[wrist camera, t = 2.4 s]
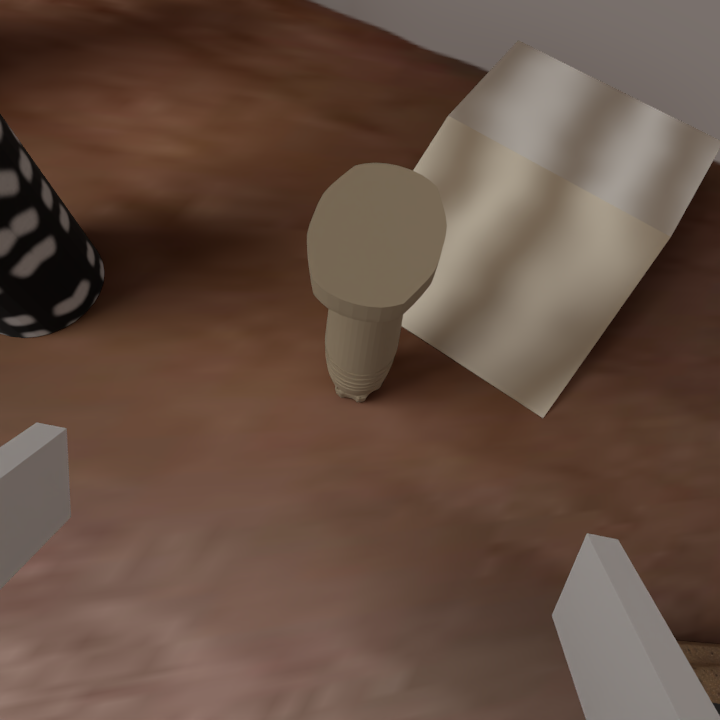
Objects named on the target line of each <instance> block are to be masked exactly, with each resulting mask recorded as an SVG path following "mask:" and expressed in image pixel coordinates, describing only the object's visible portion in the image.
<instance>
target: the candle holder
mask: <svg viewBox="0 0 720 720" xmlns="http://www.w3.org/2000/svg"><path fill="white" fill-rule="evenodd" d="M676 641H677V643H678V644H679V646H680V648H681V650H682V651H683V653H684V655H685V657H686V658H687V660H688V662H689V664H690V665H691V667H692V669H693V670H694V672H695V674H696V676H697V677H698V679H699V681H700V683H701V684H702V686H703V688H704V690H705V691H706V693H707V695H708V696H709V698H710V700H711V702H713V703H717V704H720V644H714V643H702V642H690V641H678V640H676Z"/></svg>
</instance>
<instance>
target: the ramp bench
mask: <svg viewBox="0 0 720 720" xmlns="http://www.w3.org/2000/svg"><path fill="white" fill-rule="evenodd" d="M719 149H720V140H717V139H716V138H714V137H711V136H710V135H708V134H706V133H704V132H702V131H699V130H698V129H696V128H694V127H692V126H690V125H688V124H685V123H683V122H682V121H680V120H677V119H675V118H673V117H671V116H669V115H667V114H665V113H663V112H661V111H659V110H657V109H655V108H653V107H651V106H649V105H647V104H645V103H643V102H641V101H639V100H637V99H635V98H633V97H631V96H629V95H627V94H625V93H623V92H621V91H619V90H617V89H615V88H613V87H611V86H609V85H607V84H605V83H603V82H601V81H599V80H597V79H595V78H593V77H591V76H589V75H587V74H585V73H583V72H581V71H579V70H577V69H575V68H573V67H571V66H569V65H567V64H565V63H563V62H561V61H559V60H557V59H555V58H553V57H551V56H548V55H546V54H545V53H543V52H541V51H538V50H536V49H534V48H533V47H530V46H528V45H526V44H524V43H522V42H520V41H517V42H516V43H515V44H514V46H513V47H512V48H511V49H510V50H509V51H508V52H507V53H506V54H505V55H504V56H503V57H502V59H500V61H499V62H498V63H497V64H496V65H495V66H494V67H493V68H492V69H491V70H490V71H489V72H488V73H487V75H486V76H485V77H484V78H483V79H482V80H481V81H480V82H479V83H478V84H477V85H476V86H475V87H474V89H473V90H472V91H471V92H470V93H469V94H468V95H467V96H466V97H465V98H464V99H463V100H462V101H461V103H460V104H459V105H458V106H457V107H456V108H455V109H454V110H453V111H452V112H451V113H450V114H449V115H448V117H447V118H446V120H445V122H444V123H443V125H442V126H441V128H440V129H439V131H438V133H437V134H436V136H435V137H434V139H433V140H432V142H431V143H430V145H429V147H428V148H427V150H426V151H425V153H424V154H423V156H422V158H421V159H420V161H419V162H418V164H417V165H416V167H415V168H414V170H413V171H415V172H417V173H419V174H421V175H423V176H424V177H426V178H427V179H428V180H430V181H431V182H432V183H433V184H434V185H436V186H437V188H438V191H439V194H440V198H441V201H442V204H443V208H444V211H445V215H446V222H447V229H446V237H445V241H444V245H443V248H442V252H441V256H440V260H439V263H438V266H437V269H436V272H435V275H434V278H433V280H432V283H431V285H430V286H429V287H428V288H427V290H426V291H425V292H424V293H423V295H422V296H421V297H420V298H419V299H418V300H417V301H416V302H415V304H414V305H413V306H412V307H410V308H409V309H408V310H407V311H406V312H405V313H404V314H403V319H402V325H401V326H402V327H404V328H406V329H407V330H409V331H410V332H412V333H413V334H415V335H416V336H418V337H419V338H421V339H422V340H424V341H425V342H427V343H429V344H430V345H432V346H433V347H435V348H436V349H438V350H439V351H441V352H442V353H444V354H445V355H447V356H448V357H450V358H452V359H453V360H455V361H456V362H458V363H459V364H461V365H462V366H464V367H465V368H467V369H468V370H470V371H471V372H473V373H475V374H476V375H478V376H479V377H481V378H482V379H484V380H485V381H487V382H488V383H490V384H491V385H493V386H494V387H496V388H498V389H499V390H501V391H502V392H504V393H505V394H507V395H508V396H510V397H511V398H513V399H514V400H516V401H517V402H519V403H521V404H522V405H524V406H525V407H527V408H528V409H530V410H531V411H533V412H534V413H536V414H537V415H539V416H540V417H542V418H544V416H545V415H546V413H547V412H548V410H549V409H550V408H551V406H552V405H553V403H554V402H555V401H556V399H557V398H558V396H559V395H560V393H561V392H562V391H563V389H564V388H565V386H566V385H567V384H568V382H569V381H570V379H571V378H572V376H573V375H574V374H575V372H576V371H577V369H578V368H579V366H580V365H581V364H582V362H583V361H584V359H585V358H586V357H587V355H588V354H589V352H590V351H591V349H592V348H593V347H594V345H595V344H596V342H597V341H598V340H599V338H600V337H601V335H602V334H603V332H604V331H605V330H606V328H607V327H608V325H609V324H610V323H611V321H612V320H613V318H614V317H615V315H616V314H617V313H618V311H619V310H620V308H621V307H622V305H623V304H624V303H625V301H626V300H627V298H628V297H629V296H630V294H631V293H632V291H633V290H634V288H635V287H636V286H637V284H638V283H639V281H640V280H641V279H642V277H643V276H644V274H645V273H646V271H647V270H648V269H649V267H650V266H651V264H652V263H653V262H654V260H655V259H656V257H657V256H658V254H659V253H660V252H661V250H662V249H663V247H664V246H665V244H666V243H667V242H668V240H669V239H670V237H671V236H672V234H673V232H674V230H675V228H676V227H677V225H678V223H679V221H680V219H681V218H682V216H683V214H684V212H685V210H686V209H687V207H688V205H689V203H690V201H691V200H692V198H693V196H694V194H695V192H696V191H697V189H698V187H699V185H700V183H701V182H702V180H703V178H704V176H705V174H706V173H707V171H708V169H709V167H710V165H711V164H712V162H713V160H714V158H715V156H716V154H717V153H718V151H719Z"/></svg>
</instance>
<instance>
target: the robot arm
mask: <svg viewBox="0 0 720 720" xmlns="http://www.w3.org/2000/svg"><path fill="white" fill-rule="evenodd" d="M70 517H71V510H70V489H69V468H68V447H67V428H62V427H57V426H52V425H47V424H42V423H35V424H34V425H33V426H31V427H30V428H28V429H27V430H25V431H24V432H22V433H21V434H19V435H18V436H16V437H15V438H13V439H12V440H10V441H9V442H7V443H6V444H4V445H3V446H1V447H0V589H1V588H2V587H3V586H4V585H5V584H6V583H7V582H8V581H9V580H10V579H11V578H12V577H13V576H14V575H15V574H16V573H17V572H18V571H19V570H20V569H21V568H22V567H23V566H24V565H25V564H26V563H27V562H28V560H29V559H30V558H31V557H32V556H33V555H34V554H35V553H36V552H37V551H38V550H39V549H40V548H41V547H42V546H43V545H44V544H45V543H46V542H47V541H48V540H49V539H50V538H51V537H52V536H53V535H54V534H55V533H56V532H57V531H58V530H59V529H60V528H61V527H62V526H63V525H64V524H65V522H66V521H67V520H68V519H69V518H70ZM552 618H553V621H554V624H555V627H556V630H557V633H558V636H559V639H560V642H561V645H562V648H563V651H564V654H565V657H566V660H567V663H568V667H569V670H570V673H571V676H572V679H573V682H574V685H575V688H576V691H577V694H578V697H579V700H580V703H581V706H582V709H583V712H584V715H585V718H586V720H720V704H717V703H713V702H711V700H710V698H709V696H708V695H707V693H706V691H705V690H704V688H703V686H702V684H701V683H700V681H699V679H698V677H697V676H696V674H695V672H694V670H693V669H692V667H691V665H690V664H689V662H688V660H687V658H686V657H685V655H684V653H683V651H682V650H681V648H680V646H679V644H678V643H677V641H676V639H675V637H674V636H673V634H672V632H671V631H670V629H669V627H668V625H667V624H666V622H665V620H664V618H663V617H662V615H661V613H660V611H659V610H658V608H657V606H656V605H655V603H654V601H653V599H652V598H651V596H650V594H649V592H648V591H647V589H646V587H645V585H644V584H643V582H642V580H641V578H640V577H639V575H638V573H637V572H636V570H635V568H634V566H633V565H632V563H631V561H630V559H629V558H628V556H627V554H626V552H625V551H624V549H623V547H622V546H621V544H620V542H619V540H618V539H613V538H608V537H603V536H598V535H593V534H588V533H587V534H586V537H585V539H584V541H583V544H582V546H581V548H580V551H579V553H578V555H577V558H576V560H575V562H574V565H573V567H572V569H571V572H570V574H569V576H568V579H567V581H566V583H565V586H564V588H563V590H562V593H561V595H560V597H559V600H558V602H557V604H556V607H555V609H554V611H553V614H552Z"/></svg>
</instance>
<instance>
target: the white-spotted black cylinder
mask: <svg viewBox="0 0 720 720" xmlns="http://www.w3.org/2000/svg"><path fill="white" fill-rule="evenodd" d="M103 282H104V267H103V261H102V259H101V257H100V255H99V253H98V251H97V250H96V249H95V247H94V246H93V244H92V243H91V241H90V240H89V239H88V237H87V236H86V234H85V233H84V232H83V230H82V229H81V227H80V226H79V224H78V223H77V222H76V220H75V219H74V217H73V216H72V215H71V213H70V212H69V210H68V209H67V208H66V206H65V205H64V203H63V202H62V200H61V199H60V198H59V196H58V195H57V193H56V192H55V191H54V189H53V188H52V186H51V185H50V183H49V182H48V181H47V179H46V178H45V176H44V175H43V174H42V172H41V171H40V169H39V168H38V167H37V165H36V164H35V162H34V161H33V159H32V158H31V157H30V155H29V154H28V152H27V151H26V150H25V148H24V147H23V145H22V144H21V142H20V141H19V140H18V138H17V137H16V135H15V134H14V133H13V131H12V130H11V128H10V127H9V126H8V124H7V123H6V121H5V120H4V118H3V117H2V116H1V114H0V334H4V335H7V336H11V337H22V338H27V337H38V336H42V335H46V334H50V333H53V332H55V331H58V330H60V329H63V328H65V327H67V326H68V325H70V324H71V323H73V322H75V321H76V320H78V319H79V318H80V317H81V316H82V315H83V314H85V313H86V312H87V311H88V309H89V308H90V307H91V306H92V305H93V303H94V302H95V300H96V299H97V297H98V295H99V293H100V291H101V288H102V285H103Z"/></svg>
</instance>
